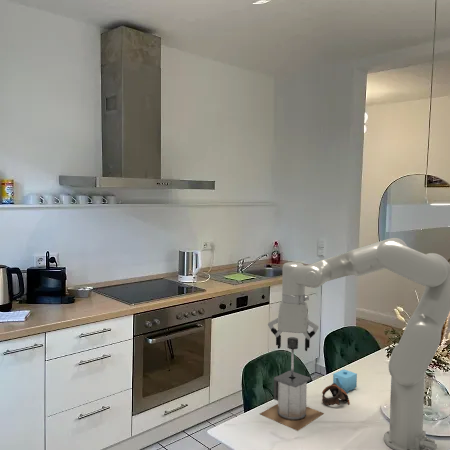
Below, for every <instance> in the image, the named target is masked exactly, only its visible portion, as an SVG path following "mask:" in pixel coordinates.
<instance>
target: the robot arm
mask: <svg viewBox="0 0 450 450" xmlns="http://www.w3.org/2000/svg"><path fill="white" fill-rule="evenodd" d="M385 269H386V270H389V271H391V272H392V273H394V274H397V275H398V276H401V277H403V278H405V279H408V280H410V281H413V282H414V283H416V284H418V285H421V286H424V290H423V293H422V295H421V297H420V300H419V302H418V304H417V306H416V308H415V309H414V311H413V313H412V315H411V317H410V318H409V319H408V321H407V323H406V326H405V329H404V331H403V333H402V336H401V337H400V340H399V342H398V343H397V345H395V347H394V348H393V350H392V351H391V355H390V357H389V360H388V373H389V374H390V376H391V378H390V398H389V399H390V404H389V429H388V431H386V432H384V435H383V440H384V443H385V444H386V445H387V446H388V447H389V448H390V449H392V450H428V449H430V450H437V449H438V448H437V447H438V445H437V443H436V440H435V439H432V438H430V437H428V436H426V435H427V432H426V430H424V429H423V428H424V403H425V383H426V382H425V381H426V380H425V379H426V372H427V370H428V368H429V366H430V364H431V363H432V360H433V358H434V356H435V355H436V353H437V351H438V349H439V346H440V343H441V338H442V331H443V327H444V325H445V323H446V321H447V319H448V317H449V314H450V262H449V261H448V260H447V259H446V258H445V257H444V256H442V254H441V255H440V254H438V253H435V252H429V253H424V252H420V251H419V250H417V249H413V248H412V247H409V246H408V245H407V243H406V242H405V241H404V240H402V239H401V238H399V237H398V238H397V237H392V238H391V237H390V238H387V239H384V240H380V241H377V242H373V243H372V244H368V245H365V246H361V247H358V248H354V249H351V250H349V251H347V252H344V253H340V254H339V255H334V256H331V257H329V258H325V259H321V260H319V261H316V262H314V263H311V264H307V265H305V264H303V263H302V262H298V261H297V262H296V261H290V262H289V261H288V262H285V263H283V265H282V280H281V281H282V284H281V285H282V289H281V290H282V291H281V293H282V294H281V295H282V296H281V297H282V299H281V301H280V303H279V306H278V307H279V308H278V317H277V318H275V319H273V320H271V321H269V322H268V324H267V325H268V328H269V330H270V332H271V333H272V334H273V335H274V336H275V346H277V349H278V350H279V349H281V347H282V335H281V334H282V332H283V333H293V334H294V333H295V334H303V336H305V340H304V351H305V352H308V349H309V348H310V347H311V345H310V343H311V342H310V341H311V339H312V337H314V336H315V334H316V333H317V331H318V330H319V325H317V324H316V323H314V322H313V321H311V320H309V310H308V309H309V308H308V303H307V302H306V301H310V295H309V296H308V295H306V293H305V292H306V291H305V289H306V287H307V288H311V289H316V288H319V287H321V286H322V285H324V284H325V283H327V282H330V281H333V280H336V279H341V278H344V277H348V276H356V277H360V276H365V275H368V274H372V273H375V272H378V271H382V270H385ZM276 324H277V329H278V330H277V329H276V328H275V326H274V325H276ZM309 327H311V328H313V329H312V330H311V331H310V332H309V331H308V329H309Z"/></svg>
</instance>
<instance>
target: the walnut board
mask: <svg viewBox="0 0 450 450" xmlns="http://www.w3.org/2000/svg"><path fill="white" fill-rule="evenodd" d="M324 414H325V413H324V412H321V411H319V410H316V409H314V408H311V407H309V406H306V417H305V418H304V419H302V420H298V421H290V420H285V419H283V418H281V417H280V416H279V415H278V403H277V404H275V405H273V406H271V407H269V408H268V409H265V410H264V411H262V412H260V413H259V415H260V416H263V417H265V418H268V419H269V420H272V421H274V422H276V423H279V424H280V425H284V426H286V427H288V428H290V429H292V430H295V431H297V432H299V431H300V430H302V429H303V428H305V427H306V426H307V425H310V424H311V423H313V422H314V421H315V420H316V419H318V418H320V417H321V416H323V415H324Z"/></svg>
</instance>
